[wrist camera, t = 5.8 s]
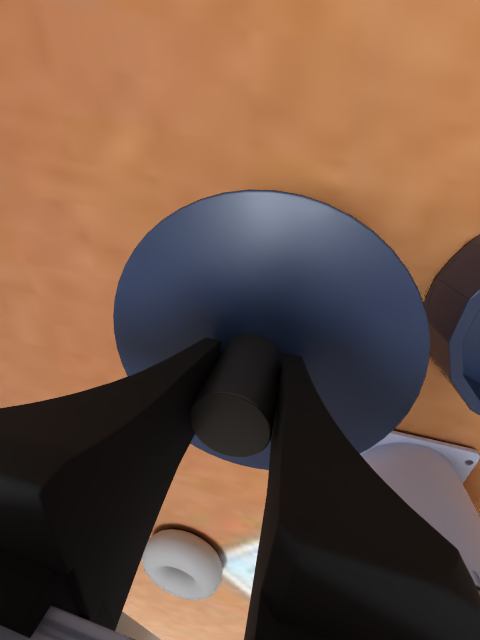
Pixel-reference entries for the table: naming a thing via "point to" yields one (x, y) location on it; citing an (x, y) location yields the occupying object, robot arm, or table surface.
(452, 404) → the table surface
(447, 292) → the pot
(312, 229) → the lid
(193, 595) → the donut
